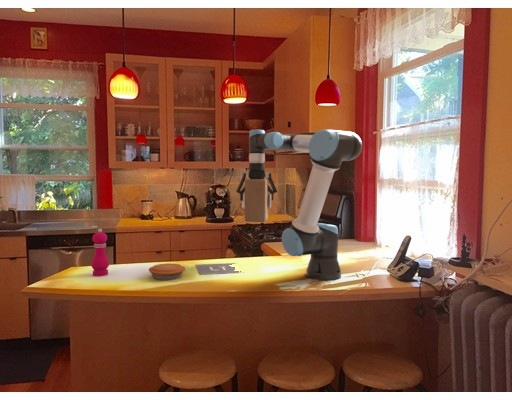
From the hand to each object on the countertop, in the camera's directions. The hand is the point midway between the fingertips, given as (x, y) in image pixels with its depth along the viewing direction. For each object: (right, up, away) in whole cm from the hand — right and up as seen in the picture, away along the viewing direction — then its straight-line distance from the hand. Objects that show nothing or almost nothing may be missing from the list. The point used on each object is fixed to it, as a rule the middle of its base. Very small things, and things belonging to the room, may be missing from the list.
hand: (256, 207), depth 204 cm
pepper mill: (-68, -29, -20) cm, 76 cm away
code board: (-18, -28, -6) cm, 34 cm away
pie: (-38, -30, -22) cm, 53 cm away
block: (0, -7, 0) cm, 7 cm away
